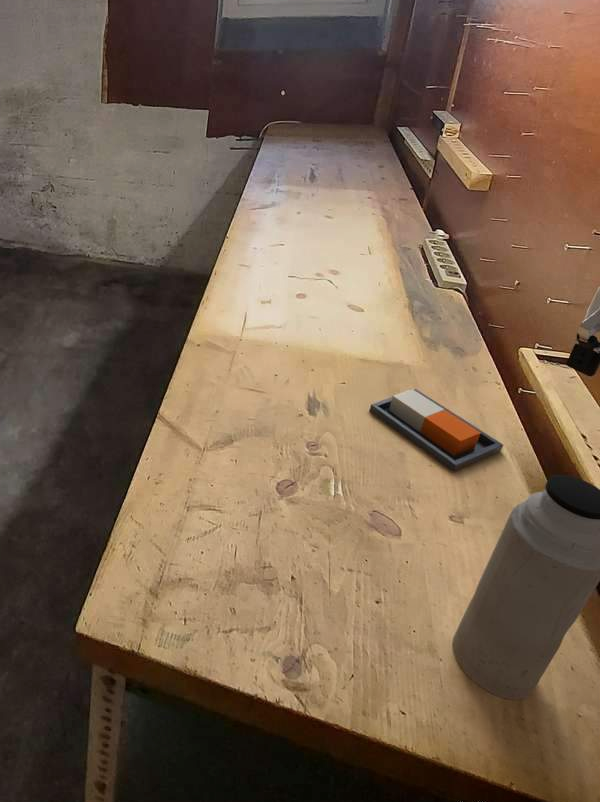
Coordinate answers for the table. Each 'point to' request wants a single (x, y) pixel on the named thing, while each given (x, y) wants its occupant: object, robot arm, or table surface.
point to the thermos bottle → (532, 588)
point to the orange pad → (450, 432)
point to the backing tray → (482, 449)
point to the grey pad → (413, 408)
